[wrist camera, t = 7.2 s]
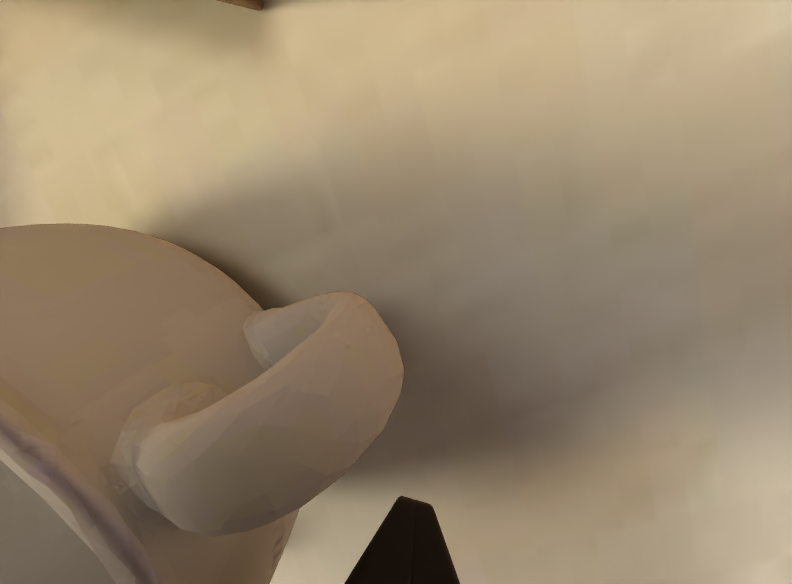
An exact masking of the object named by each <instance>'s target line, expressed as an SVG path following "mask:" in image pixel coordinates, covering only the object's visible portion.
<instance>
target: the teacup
mask: <svg viewBox="0 0 792 584" xmlns="http://www.w3.org/2000/svg"><path fill="white" fill-rule="evenodd" d="M403 374H404V367H403V363H402V360H401V356H400V352H399V348H398V345H397V341H396V339H395V338H394V336H393V335H392V333H391V332H390V330H389V329H388V327H387V326H386V324H385V323H384V321H383V320H382V318H381V317H380V315H379V314H378V312H377V311H376V309H375V308H374V307H373V306H372V305H371V304H370V303H369V302H368V301H366V300H365V299H364V298H363V297H361V296H359V295H356V294H354V293H352V292H343V291H337V292H332V293H326V294H322V295H318V296H314V297H311V298H308V299H305V300H302V301H299V302H297V303H294V304H291V305H288V306H286V307H283V308H280V307H279V308H271V309H268V310H265V311H264V310H263V309H262V308H261V307H260V305H259V304H258V303H257V302H256V301H255V300H254V299H252V298H251V297H250V296H249V295H248V294H247V293H246V292H245V291H244V290H243V289H242V288H241V287H240V286H239V285H238V284H237V283H236V282H234V281H233V280H232V279H231V278H229V277H228V276H227V275H226V274H224V273H223V272H222V271H221V270H219V269H217V268H216V267H214V266H213V265H211V264H209V263H208V262H206V261H205V260H203V259H202V258H200V257H198V256H197V255H195V254H193V253H191V252H189V251H187V250H185V249H183V248H181V247H179V246H177V245H175V244H173V243H170V242H168V241H165V240H162V239H159V238H156V237H153V236H150V235H146V234H143V233H140V232H136V231H131V230H126V229H120V228H115V227H110V226H101V225H88V224H37V225H27V226H17V227H7V228H0V584H269V583H270V581H271V579H272V576H273V574H274V572H275V569H276V567H277V565H278V562H279V560H280V558H281V555H282V553H283V551H284V548H285V546H286V543H287V541H288V538H289V535H290V533H291V530H292V527H293V525H294V522H295V520H296V517H297V514H298V512H299V508H300V507H302V506H303V505H305V504H306V503H307V502H309V501H310V500H311V499H312V498H314V497H315V496H316V495H318V494H319V493H320V492H322V491H323V490H324V489H326V488H327V487H328V486H329V485H331V484H332V483H333V482H335V481H336V480H337V479H339V478H340V477H341V476H343V475H344V474H345V473H346V472H347V471H348V469H349V468H350V467H351V466H352V465H353V464H354V463H355V461H356V460H357V459H358V458H359V457H360V456H361V455H362V453H363V452H364V451H365V450H366V449H367V448H368V447H369V446H370V444H371V443H372V442H373V441H374V440H375V439H376V438H377V436H378V435H379V434H380V433H381V432H382V431H383V429H384V427H385V425H386V423H387V421H388V419H389V417H390V415H391V413H392V411H393V409H394V407H395V405H396V402H397V400H398V398H399V396H400V392H401V387H402V381H403Z"/></svg>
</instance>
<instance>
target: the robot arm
mask: <svg viewBox="0 0 792 584" xmlns="http://www.w3.org/2000/svg"><path fill="white" fill-rule="evenodd" d="M344 584H460V582H459V579H458V576H457V574H456V571H455V568H454V565H453V562H452V559H451V557H450V554H449V551H448V548H447V545H446V542H445V539H444V537H443V534H442V531H441V528H440V525H439V522H438V520H437V517H436V514H435V511H434V509H433V507H432V506H431V505H430V504H428V503H425V502H421V501H418V500H414V499H411V498H408V497H404V496H400V497H398V499H397V500H396V502H395V503H394V505H393V507H392V508H391V510H390V511H389V513H388V515H387V516H386V518H385V519H384V521H383V523H382V524H381V526H380V527H379V529H378V531H377V532H376V534H375V535H374V537H373V539H372V540H371V542H370V543H369V545H368V547H367V548H366V550H365V551H364V553H363V555H362V556H361V558H360V559H359V561H358V563H357V564H356V566H355V567H354V569H353V571H352V572H351V574H350V575H349V577H348V579H347V580H346V582H345V583H344Z"/></svg>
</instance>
